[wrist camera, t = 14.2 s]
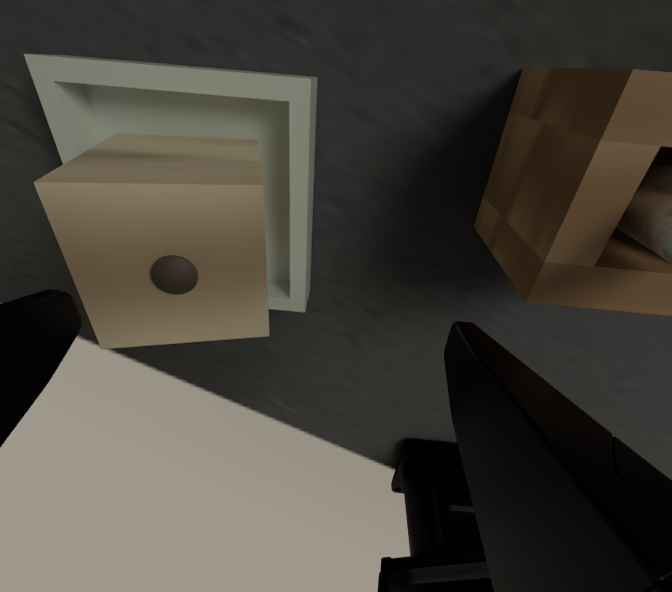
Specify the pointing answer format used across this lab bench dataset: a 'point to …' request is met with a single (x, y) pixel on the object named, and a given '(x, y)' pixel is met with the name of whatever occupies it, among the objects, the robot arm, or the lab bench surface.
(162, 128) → the tray
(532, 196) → the bored oak block
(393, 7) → the lab bench surface
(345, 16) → the lab bench surface
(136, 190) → the maple block
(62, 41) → the lab bench surface
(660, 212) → the rod
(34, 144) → the lab bench surface
